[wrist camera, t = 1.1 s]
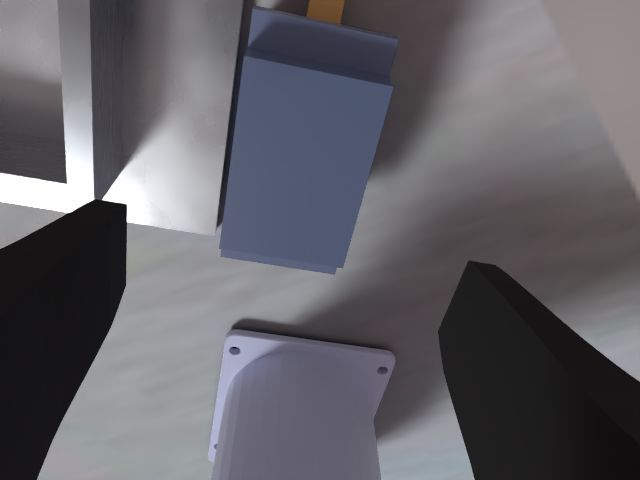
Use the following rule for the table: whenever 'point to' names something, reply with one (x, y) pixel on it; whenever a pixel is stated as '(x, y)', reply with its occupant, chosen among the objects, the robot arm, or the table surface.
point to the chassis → (118, 105)
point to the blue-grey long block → (304, 136)
